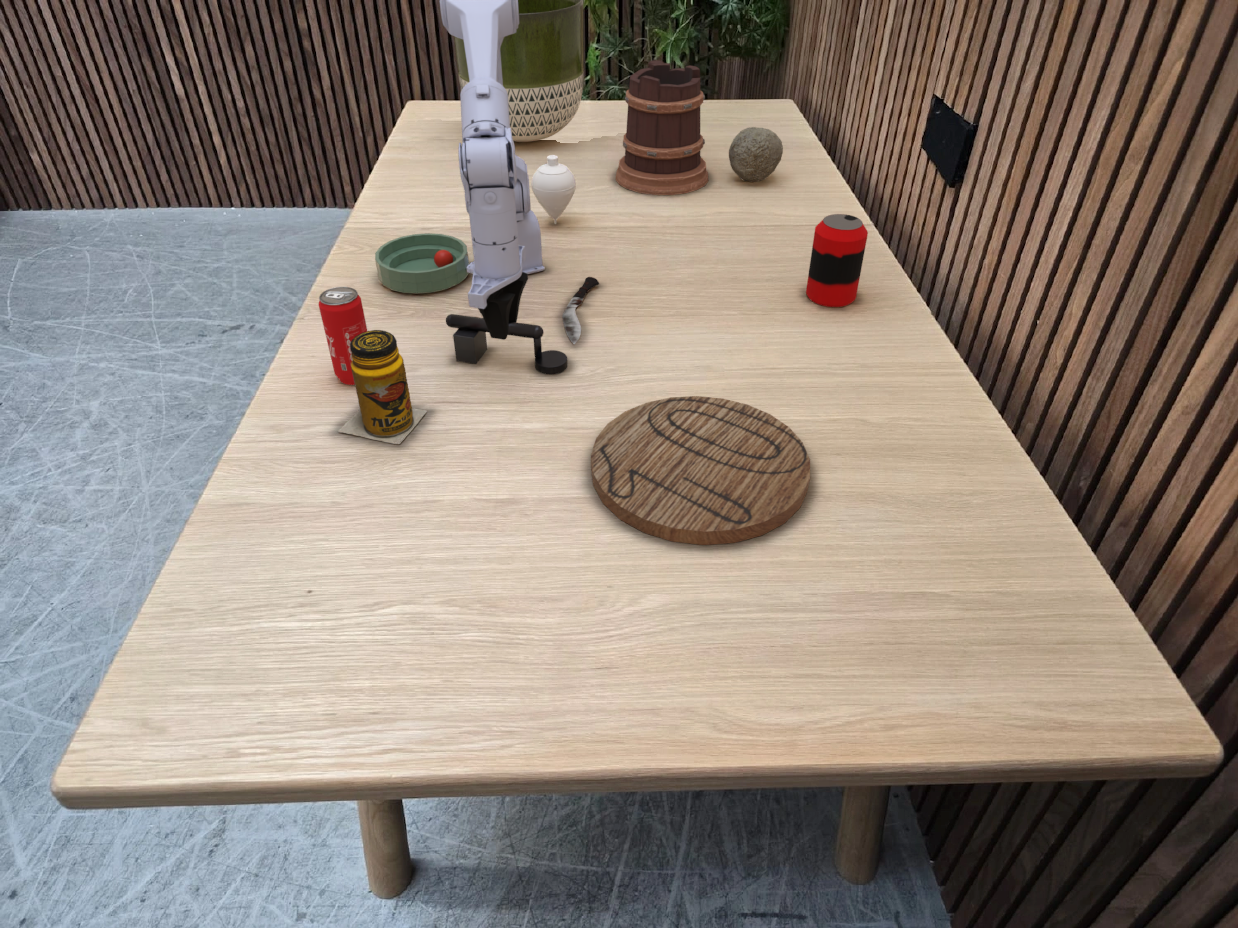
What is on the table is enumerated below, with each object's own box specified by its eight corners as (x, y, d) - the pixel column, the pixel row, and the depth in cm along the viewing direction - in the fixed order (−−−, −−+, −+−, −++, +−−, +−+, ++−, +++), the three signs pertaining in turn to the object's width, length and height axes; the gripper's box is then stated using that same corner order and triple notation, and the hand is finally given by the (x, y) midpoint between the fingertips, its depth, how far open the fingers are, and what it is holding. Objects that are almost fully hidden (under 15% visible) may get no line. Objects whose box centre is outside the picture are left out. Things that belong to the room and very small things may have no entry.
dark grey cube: (487, 349, 124) (485, 323, 121) (476, 364, 121) (473, 338, 118) (467, 346, 124) (464, 320, 122) (456, 361, 121) (452, 335, 119)
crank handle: (571, 360, 122) (570, 321, 118) (562, 376, 118) (560, 338, 115) (456, 344, 125) (451, 306, 121) (444, 360, 122) (438, 321, 118)
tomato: (439, 264, 144) (455, 256, 143) (440, 275, 142) (457, 268, 142) (430, 250, 142) (446, 243, 141) (431, 262, 140) (448, 254, 139)
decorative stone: (729, 189, 170) (734, 136, 164) (724, 173, 177) (728, 121, 171) (783, 188, 171) (789, 136, 164) (775, 172, 177) (781, 121, 171)
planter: (465, 118, 204) (452, -13, 187) (581, 115, 206) (578, -15, 189) (462, 159, 183) (446, 16, 166) (590, 154, 185) (588, 12, 169)
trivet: (750, 577, 89) (752, 563, 88) (548, 492, 100) (547, 479, 98) (841, 449, 106) (843, 436, 105) (659, 387, 116) (659, 375, 115)
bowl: (451, 249, 149) (448, 226, 147) (483, 283, 139) (480, 259, 137) (368, 267, 144) (363, 244, 141) (395, 304, 134) (391, 280, 132)
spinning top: (526, 229, 156) (521, 160, 148) (545, 213, 161) (541, 146, 154) (566, 235, 153) (563, 167, 146) (583, 219, 159) (582, 152, 152)
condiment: (399, 445, 106) (383, 359, 99) (337, 432, 108) (317, 347, 101) (428, 412, 112) (414, 328, 104) (368, 400, 114) (350, 317, 106)
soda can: (865, 295, 136) (879, 221, 129) (838, 313, 132) (851, 237, 124) (823, 280, 140) (834, 207, 133) (795, 297, 136) (806, 222, 128)
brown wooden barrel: (696, 152, 186) (701, 50, 174) (717, 193, 169) (725, 82, 156) (608, 155, 185) (607, 52, 172) (620, 197, 167) (620, 86, 155)
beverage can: (366, 389, 116) (348, 307, 108) (329, 384, 117) (309, 303, 109) (382, 368, 120) (366, 287, 112) (346, 364, 121) (328, 284, 113)
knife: (593, 339, 124) (557, 341, 124) (593, 348, 125) (558, 349, 125) (599, 276, 138) (567, 277, 139) (600, 284, 139) (568, 285, 139)
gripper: (487, 210, 117) (496, 302, 125) (440, 256, 106) (453, 354, 114) (537, 216, 115) (543, 309, 123) (495, 263, 104) (504, 362, 112)
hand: (503, 331), depth 119 cm, fingers closed
